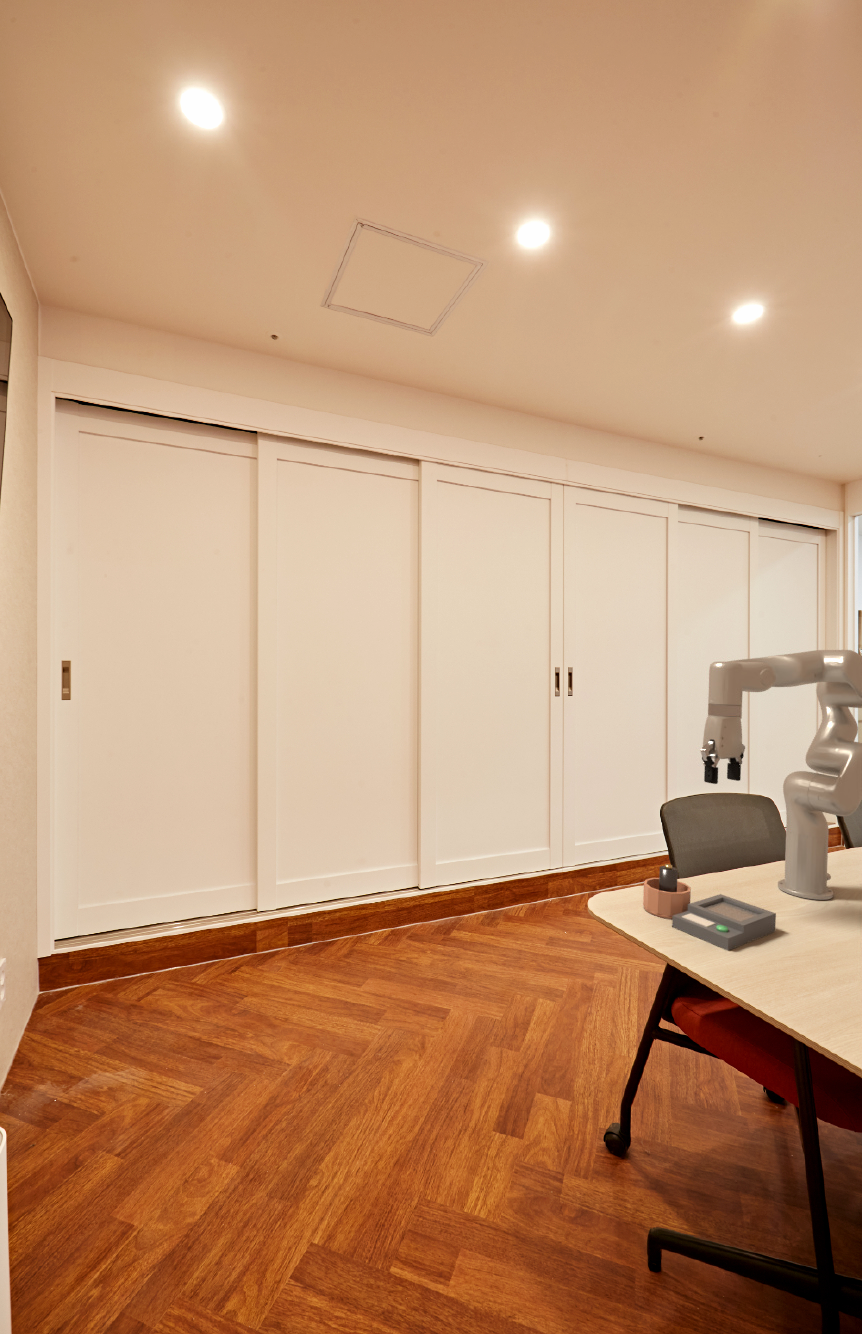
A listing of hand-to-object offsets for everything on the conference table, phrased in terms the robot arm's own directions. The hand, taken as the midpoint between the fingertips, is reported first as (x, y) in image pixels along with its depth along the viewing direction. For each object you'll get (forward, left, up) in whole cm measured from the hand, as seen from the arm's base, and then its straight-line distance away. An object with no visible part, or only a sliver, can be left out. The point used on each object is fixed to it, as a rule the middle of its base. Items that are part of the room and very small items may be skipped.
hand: (722, 781), depth 151 cm
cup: (+15, -4, -30) cm, 34 cm away
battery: (+15, -4, -30) cm, 33 cm away
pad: (+10, +9, -28) cm, 31 cm away
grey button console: (+13, +9, -30) cm, 34 cm away
